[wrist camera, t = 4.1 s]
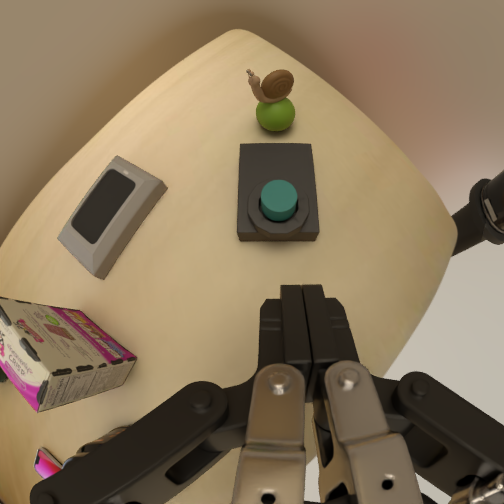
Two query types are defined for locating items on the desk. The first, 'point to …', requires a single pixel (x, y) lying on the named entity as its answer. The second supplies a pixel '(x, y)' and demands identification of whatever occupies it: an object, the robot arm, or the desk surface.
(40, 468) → the smartphone
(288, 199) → the push button
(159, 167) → the desk surface
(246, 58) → the desk surface
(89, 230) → the grey bevelled block
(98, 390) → the candy bar box
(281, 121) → the snail figurine
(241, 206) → the black button base
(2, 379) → the character mug
